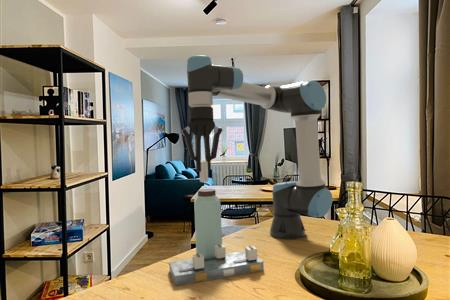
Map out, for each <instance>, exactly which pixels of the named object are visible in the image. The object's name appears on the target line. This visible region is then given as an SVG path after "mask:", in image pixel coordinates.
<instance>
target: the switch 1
mask: <svg viewBox="0 0 450 300" xmlns="http://www.w3.org/2000/svg"><path fill="white" fill-rule="evenodd" d="M191 255H192V259H193V267H194V268H195V269H200V268H204V256H203V255H202V254H198V253H196V254H191Z"/></svg>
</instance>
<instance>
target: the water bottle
mask: <svg viewBox="0 0 450 300" xmlns="http://www.w3.org/2000/svg"><path fill="white" fill-rule="evenodd" d="M193 205H194V206H193V208H194V229H195V232H194V233H195V252H196V253H198V254H202V255H203V256H204V257H208V256H214V255H215V245H218V244H220V245H222V244H223V237H222V236H223V233H222V231H223V230H222V228H223V227H222V209H221V208H222V205H221V199H220V198H219V197H218V196H217V195H216V189H215V188H201V189H198V190H197V196H196V197H195V198H194V199H193Z"/></svg>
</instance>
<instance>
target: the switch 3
mask: <svg viewBox="0 0 450 300" xmlns="http://www.w3.org/2000/svg"><path fill="white" fill-rule="evenodd" d="M244 251H245V257H246V258H247V259H248V260H249V261H250V260H256V259H257V257H258V248H257V247H255V246H254V245H248V246H246V247H244Z"/></svg>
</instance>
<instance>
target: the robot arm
mask: <svg viewBox="0 0 450 300" xmlns="http://www.w3.org/2000/svg"><path fill="white" fill-rule="evenodd" d="M186 62H187V63H186V75H187V91H188V93H187V94H188V106H189V109H188V117H189V118H188V123H187V126H186V127H185V128H183V129H181V134H182V136H183V137H184V140H185V145H186V148H187V152H188V156H189V159H190V160H191V161H195V170H196V172H197V173H199V182H200V183H209V172H211V170H212V168H211V167H212V164H211V162H212V160H214V159H216V158H217V155H218V154H217V153H218V150H219V149H218V147H219V142H220V136H221V133H222V132H223V128H221V127H219V126H217V125H216V123H215V121H214V108H213V107H212V106H213V105H214V104H213V103H214V102H213V101H214V99H213V97H217V98H223V99H227V100H232V101H238V102H241V103H248V104H251V105H252V104H253V105H259V106H260V107H261V108H262V109H265V110H270V111H274V112H278V113H285V114H290V118H291V119H293V120H294V122H295V137H296V138H295V139H296V151H297V166H298V167H297V168H298V180H294V181H282V182H278V183H274V184H273V187H272V193H271V194H272V206H273V207H272V208H273V217H272V223H271V225H270V228H269V234H270V236H271V237H274V238H277V239H282V240H283V239H285V240H294V239H299V238H303V237H305V235H306V227H305V226H304V223H303V220H302V217H301V215H303V216H308V217H312V218H314V217H315V218H322V217H325V216H326V215H327V214H328V213H329V211H330V209H331V207H332V204H333V193H332V192H331V191H330V190H329V189H328V188H327V187H326V182H325V180H323V179H322V175H321V161H320V160H321V159H320V146H319V145H320V141H319V129H318V125H319V124H318V119H319V117H320V116H321V115H322V114H321V112H322V110H323V109H324V108H325V107H326V104H327V95H326V94H327V93H326V91H325V89H324V86H322V84H321V83H319V81H316V80H303V81H300V82H295V83H291V84H284V85H279V86H272V85H266V86H262V85H257V84H253V83H251V82H245V81H244V73H243V71H242V70H241V69H240V68H239V67H235V66H231V65H230V66H228V65H226V66H225V65H219V64H217V65H216V64H212V59H211V57H210V56H207V55H204V54H203V55H202V54H201V55H199V54H198V55H193V56H189V57H188V59H187V61H186ZM212 132H213V133H214V135H213V140H212V145H211V143H210V139H211V138H210V137H211V136H210V135H211V133H212ZM191 133H192V134H193V136H194V140H195V142H194V143H195V146H194V148H195V150H194V148H193V143H192V139H191V136H190V134H191ZM202 138H203V143H204V144H203V145H204V148H203V149H204V158H205V160H203V161H202V149H201V148H202V145H201V144H202V142H201V141H202ZM194 151H195V152H194Z"/></svg>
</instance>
